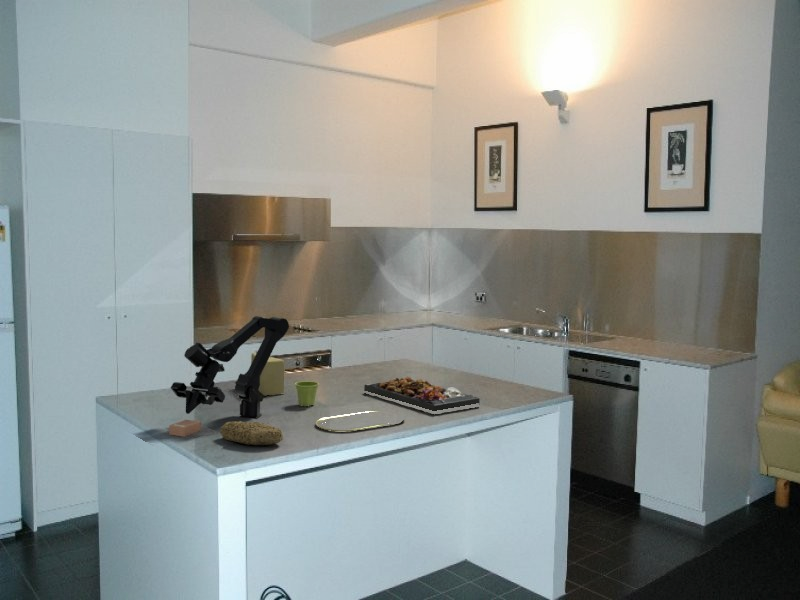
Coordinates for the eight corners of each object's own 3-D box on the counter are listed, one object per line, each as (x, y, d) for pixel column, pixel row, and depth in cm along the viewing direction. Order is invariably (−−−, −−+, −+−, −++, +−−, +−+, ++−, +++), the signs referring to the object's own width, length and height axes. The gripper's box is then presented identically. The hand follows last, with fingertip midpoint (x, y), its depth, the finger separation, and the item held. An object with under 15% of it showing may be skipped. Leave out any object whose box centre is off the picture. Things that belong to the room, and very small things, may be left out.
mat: (165, 429, 251) (165, 427, 251) (198, 424, 259) (198, 422, 259) (185, 440, 239) (185, 438, 239) (219, 434, 247) (219, 433, 247)
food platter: (479, 408, 299) (480, 383, 298) (433, 416, 283) (434, 390, 283) (408, 388, 334) (408, 366, 333) (364, 394, 318) (364, 371, 317)
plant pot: (300, 408, 287) (301, 386, 286) (290, 403, 294) (290, 382, 294) (322, 406, 292) (322, 384, 291) (311, 401, 300) (312, 380, 299)
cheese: (241, 386, 324) (242, 353, 322) (262, 384, 329) (263, 351, 328) (263, 396, 306) (264, 361, 304) (284, 394, 311) (285, 359, 310)
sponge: (216, 445, 239) (256, 445, 227) (217, 421, 241) (257, 419, 228) (248, 445, 249) (288, 444, 237) (249, 421, 251) (289, 420, 238)
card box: (186, 419, 251) (169, 425, 243) (201, 421, 249) (184, 427, 241) (185, 428, 252) (169, 434, 243) (200, 430, 250) (184, 436, 241)
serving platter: (306, 424, 265) (306, 420, 265) (385, 413, 286) (385, 409, 286) (333, 437, 250) (333, 432, 250) (415, 424, 271) (415, 419, 271)
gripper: (238, 391, 259) (220, 429, 250) (193, 385, 265) (174, 422, 256) (226, 372, 251) (207, 411, 242) (180, 367, 257) (159, 404, 248)
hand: (187, 413), depth 247 cm, fingers closed
